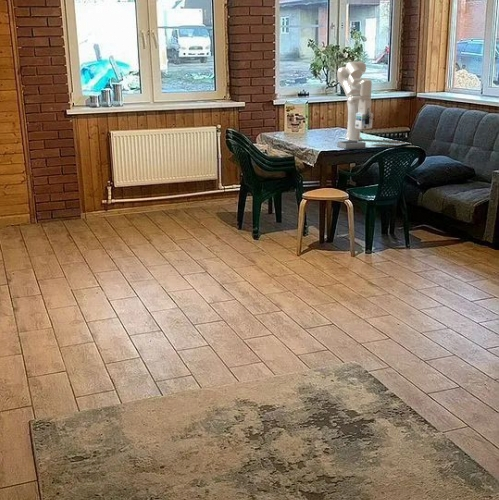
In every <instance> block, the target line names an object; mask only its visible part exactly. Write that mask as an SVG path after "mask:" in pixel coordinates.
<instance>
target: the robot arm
mask: <svg viewBox="0 0 499 500" xmlns="http://www.w3.org/2000/svg"><path fill="white" fill-rule="evenodd" d="M366 71H367V65H366V63H365V62H364V61H349V62H348V63H346V65H345V66H342V67H339V68H338V70H337V72H336V75H337V81H338V82H339V83H338V84H339V85H341V87H342V89H343V91H344V94H345V96H346V98H347V101H346V105H347V129H346V130H347V132H346V133H345V135H346V137H344V140H345V141H355V140H358V141H362V140H363V137H361V129H357V128H355V125H356V113H362V114H364V115H365V117H366V119H365V124H369V119H370V116H371V113H372V112H371V111H372V109H371V108H372V107H371V106H372V86H373V85H372V84H373V83H372V80H370V79H369V78H362V76H363V75H364V73H365V72H366ZM367 115H368V116H367Z"/></svg>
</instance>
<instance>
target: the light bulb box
mask: <svg viewBox="0 0 499 500" xmlns="http://www.w3.org/2000/svg"><path fill="white" fill-rule="evenodd" d="M367 116H368V115H367ZM373 118H374V113H373V112H371V116H370V119H369V124H365V119H366V117H365V115H364V114H362V113H356V125H355V128H357V129H360V130H368V129H372V128H373V120H374V119H373Z"/></svg>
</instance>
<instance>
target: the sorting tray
mask: <svg viewBox="0 0 499 500" xmlns="http://www.w3.org/2000/svg"><path fill="white" fill-rule="evenodd" d="M366 144H367V143H366V142H365V141H362V140H345V141H344V140H343V141H341V140H340V141H337V148H339V149H343V148H344V149H343V150H352V149H365V148H367V147H366V146H367V145H366Z"/></svg>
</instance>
